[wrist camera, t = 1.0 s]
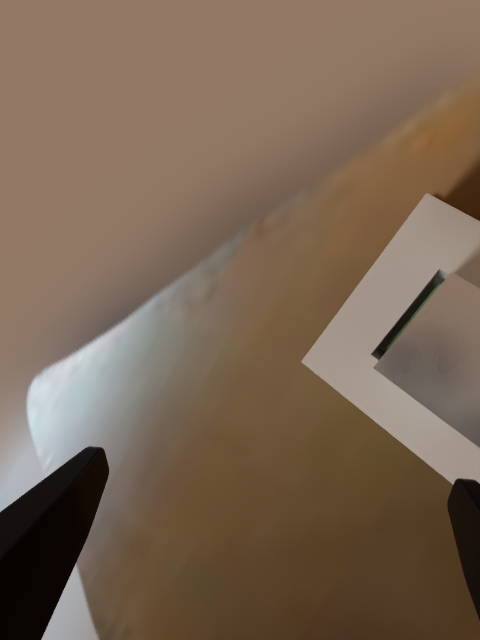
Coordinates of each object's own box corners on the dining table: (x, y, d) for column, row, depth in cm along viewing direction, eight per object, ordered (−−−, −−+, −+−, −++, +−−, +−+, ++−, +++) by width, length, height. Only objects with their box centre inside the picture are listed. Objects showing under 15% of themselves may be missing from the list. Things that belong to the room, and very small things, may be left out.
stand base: (633, 313, 18) (705, 313, 13) (468, 477, 21) (482, 522, 16) (426, 201, 22) (428, 171, 17) (312, 354, 25) (288, 363, 20)
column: (514, 332, 19) (591, 348, 10) (456, 396, 20) (483, 456, 12) (437, 285, 21) (450, 265, 12) (387, 346, 22) (366, 368, 13)
